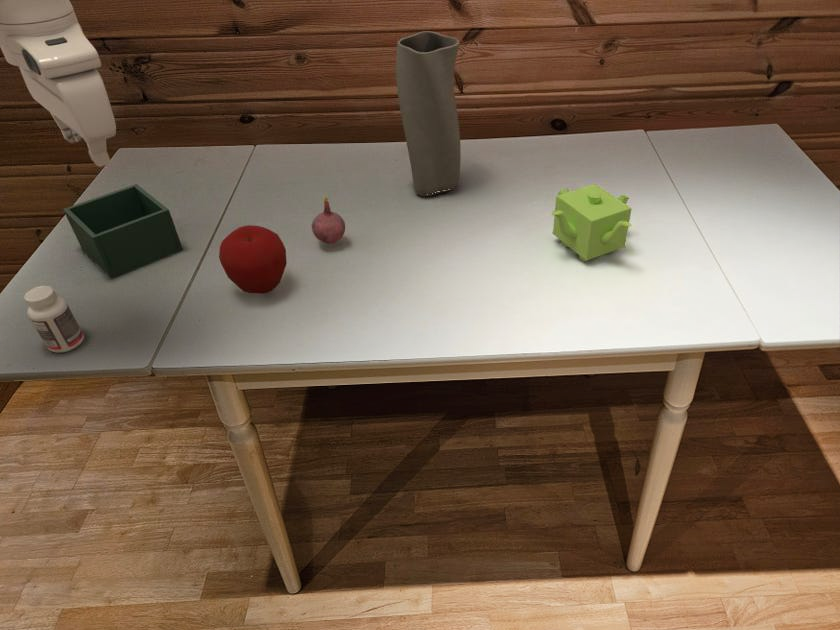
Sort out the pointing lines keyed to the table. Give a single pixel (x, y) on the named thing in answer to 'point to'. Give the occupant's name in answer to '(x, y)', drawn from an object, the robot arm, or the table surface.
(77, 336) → the pill bottle
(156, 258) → the bin
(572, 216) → the green peg cube
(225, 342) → the table surface
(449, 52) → the vase
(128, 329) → the table surface
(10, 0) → the robot arm
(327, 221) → the vegetable
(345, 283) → the table surface
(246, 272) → the apple
